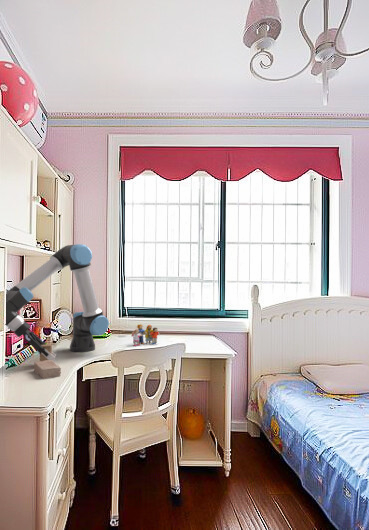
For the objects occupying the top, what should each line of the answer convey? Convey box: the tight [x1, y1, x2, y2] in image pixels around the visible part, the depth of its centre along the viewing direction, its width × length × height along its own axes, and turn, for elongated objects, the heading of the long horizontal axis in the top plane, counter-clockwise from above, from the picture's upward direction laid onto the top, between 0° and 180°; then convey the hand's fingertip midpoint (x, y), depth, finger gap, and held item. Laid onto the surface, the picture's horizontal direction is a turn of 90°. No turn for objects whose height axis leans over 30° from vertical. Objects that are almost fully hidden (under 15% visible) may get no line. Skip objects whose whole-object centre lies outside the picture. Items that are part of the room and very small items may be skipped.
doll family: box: [131, 324, 161, 347], centre depth 250 cm, size 21×10×13 cm, turn 123°
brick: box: [33, 360, 62, 380], centre depth 173 cm, size 17×8×5 cm, turn 35°
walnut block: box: [39, 343, 53, 361], centre depth 188 cm, size 5×5×10 cm
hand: (53, 358), depth 189 cm, fingers closed on walnut block, 5 cm apart
